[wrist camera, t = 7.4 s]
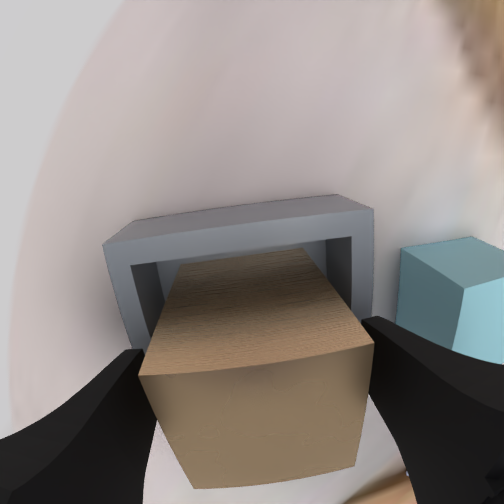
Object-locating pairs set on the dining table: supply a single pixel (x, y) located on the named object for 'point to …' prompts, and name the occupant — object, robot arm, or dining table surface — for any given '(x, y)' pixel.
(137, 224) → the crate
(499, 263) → the pale teal cube
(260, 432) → the wooden block
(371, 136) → the dining table surface
